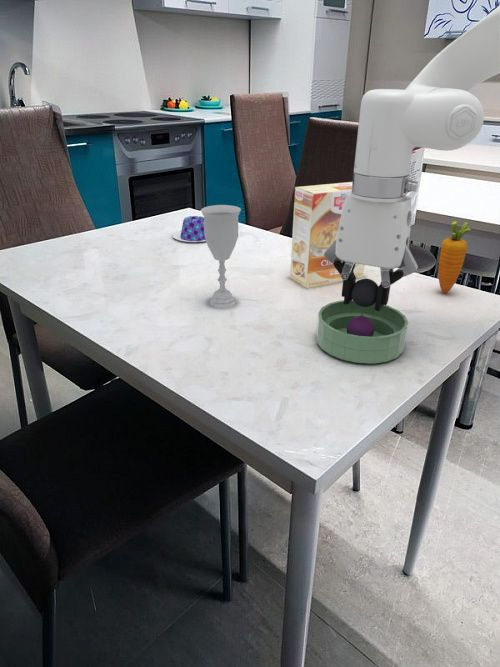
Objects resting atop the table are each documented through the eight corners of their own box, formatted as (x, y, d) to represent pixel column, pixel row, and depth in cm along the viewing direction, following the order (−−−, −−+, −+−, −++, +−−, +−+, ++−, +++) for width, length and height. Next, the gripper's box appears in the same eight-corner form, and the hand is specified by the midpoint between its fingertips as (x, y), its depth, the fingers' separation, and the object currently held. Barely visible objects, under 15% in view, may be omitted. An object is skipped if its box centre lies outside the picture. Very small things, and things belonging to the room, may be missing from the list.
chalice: (224, 293, 101) (223, 203, 93) (248, 303, 97) (249, 209, 89) (196, 303, 97) (192, 209, 89) (220, 314, 93) (218, 216, 84)
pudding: (181, 230, 141) (180, 211, 139) (222, 233, 139) (222, 214, 137) (166, 242, 131) (165, 222, 128) (211, 246, 129) (210, 225, 126)
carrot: (451, 289, 105) (467, 217, 98) (461, 298, 100) (477, 224, 93) (428, 289, 105) (441, 217, 98) (436, 298, 100) (451, 224, 93)
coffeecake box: (306, 289, 104) (313, 193, 95) (288, 278, 109) (293, 186, 100) (364, 278, 110) (375, 186, 101) (344, 267, 115) (353, 180, 106)
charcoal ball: (364, 298, 82) (367, 272, 80) (383, 307, 79) (387, 281, 77) (343, 303, 80) (346, 277, 78) (363, 313, 77) (366, 286, 75)
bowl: (360, 319, 91) (363, 293, 89) (421, 351, 81) (427, 323, 79) (299, 337, 85) (300, 311, 82) (357, 376, 74) (360, 346, 72)
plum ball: (359, 333, 85) (362, 309, 83) (378, 343, 82) (381, 318, 80) (340, 339, 83) (341, 315, 81) (358, 349, 80) (361, 324, 78)
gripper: (445, 188, 71) (422, 307, 79) (331, 176, 77) (321, 286, 86) (436, 198, 65) (413, 325, 73) (313, 184, 72) (305, 302, 80)
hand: (363, 303), depth 79 cm, fingers closed on charcoal ball, 4 cm apart
